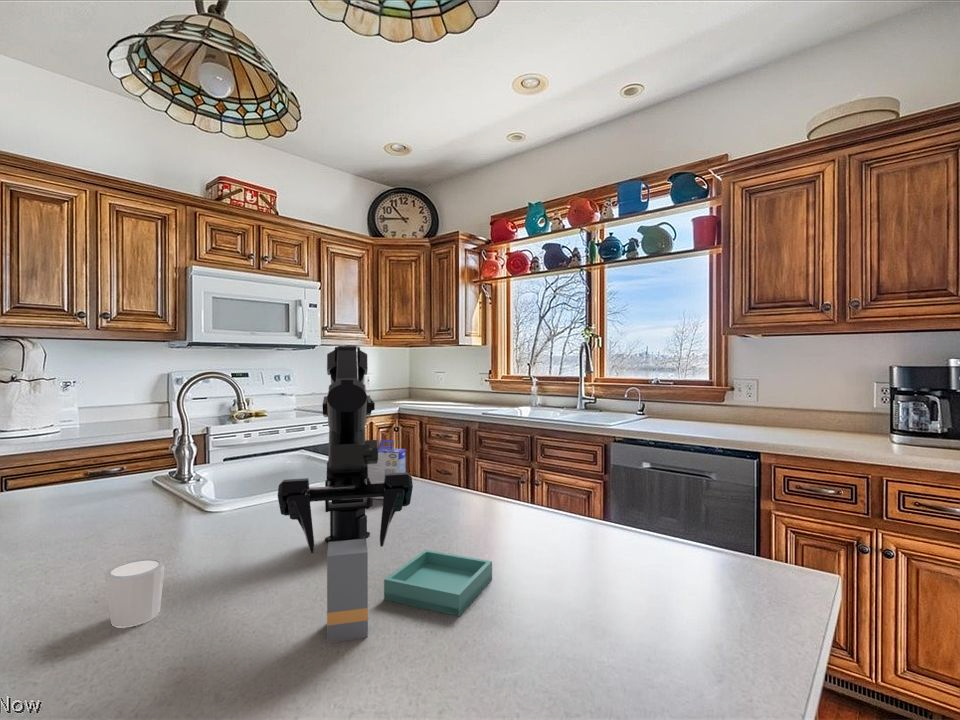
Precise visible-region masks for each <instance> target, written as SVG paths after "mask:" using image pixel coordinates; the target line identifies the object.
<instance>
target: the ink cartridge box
mask: <svg viewBox="0 0 960 720" xmlns="http://www.w3.org/2000/svg"><path fill="white" fill-rule="evenodd" d="M384 443H387V444H388V443H389V444H390V445H386V444H385V445H384ZM393 445H394V439H380V440H379V443H378V463H377V464H368V478H369V480H370V482H371V484H378V483H384V479H385V474H388V473H405V472H407V471H406V470H407V469H406V465H407V464H406V463H407V462H406V459H407V458H406V454H407V452H406V448H393V447H394V446H393ZM373 499H374V500H375V499H378V500H383V497H373Z"/></svg>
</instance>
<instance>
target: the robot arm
mask: <svg viewBox="0 0 960 720" xmlns="http://www.w3.org/2000/svg"><path fill="white" fill-rule="evenodd" d="M326 374H327V376H330V384H329V386H328V392H327V395H325V396H323V401H322V416H323V417H324V418H327V423H328V424H327V425H328V428H329V430H328V459H327V463H326V480H325V482H324V483H325V484H324V486H314V487H310V480H309V478H289V479H283V480H282V481H281V482H280V483H279V484H278V486H277V487H278V489H277V499H278V500H277V502H278V506H279V511H280V515H283V516H285V517H286V516H289V519H290V520H294V521H295V520H296V521H298V523H299V525H300V527H301V529H302V531H303V534H304V536H305V539H306V542H307V545H308V549H309V553H310V554H314V553H315V536H314V529H313V518H312V509H311V503H312V502H323V501H324V502H325V503H324V504H325V507H324V508H325V510H324V511H325V513H329V512H330V513H329V536H326V537H324V542H335V541H345V540H356V539H367V537H369V536H371V532H369V531H368V515H367V514H366V510H370V508H371V507H373V506H374V505H373V503H374V502H373V499H374V498H373V497H383V499H382V510H381V520H380V532H379V547H382V548H383V547H384V545H385V543H386V538H387V534H388V530H389V527H390V524H391V522H392V520H393V518H394V515H395V514H396V512H401V511H402V510H403V507H407V506H410V504H411V500H412V499H411V498H412V493H413V487H414V485H413V477H412V475H411V474H409V473H408V472H407V471H406V472H405V473H388V474H385V479H384V483H378V484H371V482H370V480H369V478H368V464H377V463H378V448H379V443H378V439H369V440H366V424H367V416H368V417H369V416H371V415H372V411H375V410H376V409H375V407H376V405H375V404H376V403H375V401H373V399H372V398H371V395H367V389H366V384H364V381H365V375H368V354H367V353H366V352H365V351H362V350H361V347H360V346H358V345H337V346H334V350H332V351H330V352H328V353H327V354H326Z"/></svg>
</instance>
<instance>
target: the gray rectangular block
mask: <svg viewBox="0 0 960 720" xmlns="http://www.w3.org/2000/svg"><path fill="white" fill-rule="evenodd" d="M327 542H328V541H327ZM367 544H368V542H367V538H364V539H356V540H345V541H335V542H328V543H327V551H326V553H327V554H326V598H327V599H326V608H327V609H326V610H327V611H326V627H327V628H326V636H327V637H326V640H327V641H326V642H327V644H330V643H336V642H337V643H338V642H345V641H352V640H358V639H365V638H369V628H368V627H369V623H368V622H369V606H368V604H369V602H368V601H369V600H368V598H369V597H368V595H369V593H368V592H369V590H368V589H369V587H368V586H369V585H368V583H369V582H368V579H369V576H368V575H369V574H368V573H369V570H368V567H369V565H368V562H369V561H368V560H369V559H368V558H369V557H368V554H369V552H368V551H369V550H368V545H367Z"/></svg>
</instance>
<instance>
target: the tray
mask: <svg viewBox="0 0 960 720" xmlns="http://www.w3.org/2000/svg"><path fill="white" fill-rule="evenodd" d="M492 581H493V561H492V560H488V559H481V558H475V557H470V556H464V555H458V554H452V553H446V552H440V551H435V550H431V549H424V550H423V551H421V552H420V553H419V554H416V556H414V557H413V558H411V559H410V560H408V561H407V562H406V563H404V564H403V565H401V567H398V568H397V570H395V571H393V572H392V573H390V574H389V575H388V576H386V577H385V578H384V579H383V599H384V600H386V601H389V602H394V603H399V604H402V605H403V604H404V605H406V606H407V605H408V606H412V607H416V608H420V609H426V610H429V611H433V612H439V613H443V614H448V615H450V616H456V617H460V616H461V615H462V614H463V613H464V612H465V610H466V609H468V607H469V606H470V605H471V604H472V603H473V602H474V601H475V599H476V598H477V597H478V596H479V595H480V594H481V593H482V592H483V591H484V589H486V587H487V586H488V585H489V584H490V583H491V582H492Z"/></svg>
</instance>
